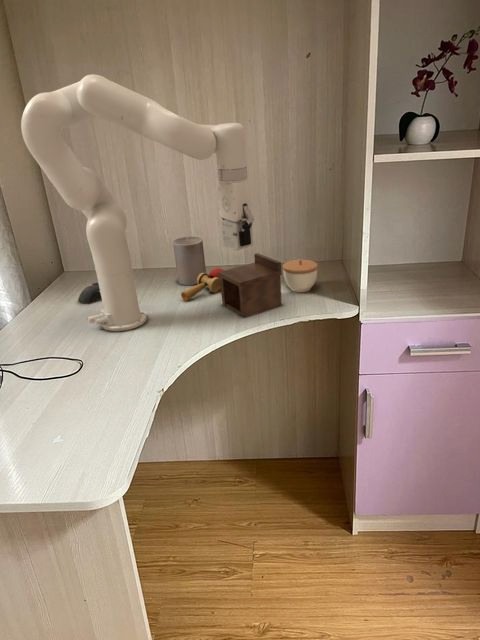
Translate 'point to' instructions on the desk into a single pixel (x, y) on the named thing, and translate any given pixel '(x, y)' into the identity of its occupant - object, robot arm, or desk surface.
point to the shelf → (252, 286)
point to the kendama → (204, 284)
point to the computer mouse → (90, 294)
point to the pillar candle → (189, 259)
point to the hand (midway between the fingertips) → (238, 241)
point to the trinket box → (300, 274)
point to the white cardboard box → (233, 235)
